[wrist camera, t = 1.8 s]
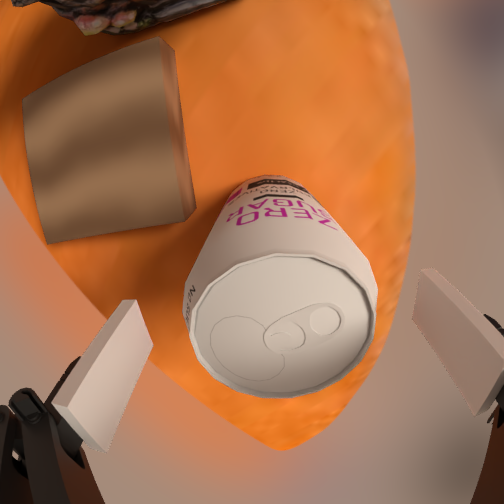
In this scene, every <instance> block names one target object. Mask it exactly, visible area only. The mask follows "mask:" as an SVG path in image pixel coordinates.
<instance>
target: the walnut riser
mask: <svg viewBox="0 0 504 504" xmlns="http://www.w3.org/2000/svg"><path fill="white" fill-rule="evenodd" d="M22 108H23V124H24V134H25V143H26V151H27V158H28V165H29V171H30V176H31V182H32V187H33V192H34V196H35V201H36V205H37V209H38V213H39V217H40V221H41V225H42V228H43V232H44V235H45V238H46V242H47V244H52V243H57V242H62V241H68V240H73V239H78V238H84V237H90V236H95V235H101V234H107V233H113V232H119V231H125V230H131V229H137V228H144V227H150V226H157V225H164V224H171V223H178V222H185V221H186V220H187V219H188V218H189V216H190V215H191V214H192V213H193V212H194V211H195V209H196V208H197V207H196V201H195V195H194V189H193V184H192V178H191V171H190V165H189V159H188V153H187V146H186V139H185V132H184V125H183V118H182V111H181V103H180V95H179V87H178V79H177V70H176V61H175V51H174V50H173V49H172V48H171V47H170V46H169V45H168V44H167V43H166V42H165V41H164V40H163V39H161V38H160V37H159V36H158V37H155V38H151V39H148V40H145V41H142V42H139V43H136V44H133V45H130V46H127V47H125V48H122V49H119V50H117V51H114V52H112V53H109V54H107V55H104V56H102V57H99V58H97V59H95V60H93V61H90V62H88V63H86V64H84V65H82V66H80V67H78V68H76V69H74V70H72V71H70V72H68V73H66V74H64V75H62V76H60V77H58V78H56V79H54V80H53V81H51V82H49V83H47V84H46V85H44V86H42V87H41V88H39V89H37V90H36V91H34V92H32V93H31V94H29V95H28V96H26V97H25V98H23V99H22Z"/></svg>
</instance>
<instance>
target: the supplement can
mask: <svg viewBox="0 0 504 504" xmlns="http://www.w3.org/2000/svg"><path fill="white" fill-rule="evenodd" d="M377 293H378V288H377V285H376V281H375V278H374V275H373V273H372V270H371V267H370V264H369V261H368V259H367V258H366V257H365V256H364V255H363V253H362V252H361V251H360V250H359V248H358V247H357V246H356V245H355V244H354V242H353V241H352V240H351V239H350V238H349V236H348V235H347V234H346V233H345V232H344V230H343V229H342V228H341V227H340V226H339V225H338V223H337V222H336V221H335V220H334V219H333V218H332V217H331V215H330V214H329V213H328V212H327V211H326V210H325V209H324V208H323V206H322V205H321V204H320V203H319V202H318V201H317V200H316V199H315V198H314V196H313V195H312V194H311V193H310V192H309V191H308V190H306V189H305V188H304V187H303V186H302V185H301V184H300V183H299V182H297V181H294V180H292V179H290V178H287V177H285V176H280V175H262V176H259V177H256V178H252V179H249V180H247V181H245V182H244V183H243V184H241V185H240V186H239V187H238V188H236V189H235V190H234V191H233V192H232V193H231V195H230V196H229V198H228V200H227V201H226V203H225V205H224V206H223V208H222V210H221V212H220V214H219V216H218V218H217V220H216V222H215V224H214V226H213V228H212V230H211V232H210V234H209V236H208V238H207V240H206V242H205V244H204V246H203V248H202V250H201V252H200V254H199V256H198V258H197V260H196V262H195V264H194V266H193V268H192V270H191V272H190V274H189V276H188V278H187V280H186V282H185V289H184V299H183V310H182V313H183V316H184V319H185V322H186V325H187V328H188V331H189V334H190V335H189V337H190V340H191V343H192V346H193V348H194V351H195V354H196V357H197V359H198V361H199V362H200V363H201V364H202V365H203V367H204V368H205V369H206V370H207V371H208V372H209V373H210V374H211V375H212V377H213V378H214V379H216V380H218V381H219V382H221V383H223V384H225V385H226V386H228V387H230V388H232V389H233V390H235V391H237V392H241V393H245V394H249V395H253V396H257V397H261V398H294V397H298V396H302V395H307V394H311V393H315V392H318V391H320V390H322V389H324V388H326V387H328V386H330V385H332V384H334V383H336V382H338V381H339V380H341V379H342V378H344V377H345V376H346V375H347V374H348V373H349V372H350V371H351V370H352V369H353V368H354V367H356V366H357V365H358V364H359V363H360V362H361V360H362V359H363V357H364V355H365V353H366V352H367V350H368V348H369V346H370V344H371V342H372V341H373V338H374V330H375V322H376V304H377Z"/></svg>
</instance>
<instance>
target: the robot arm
mask: <svg viewBox="0 0 504 504" xmlns="http://www.w3.org/2000/svg"><path fill="white" fill-rule="evenodd" d="M412 320H413V321H414V322H415V324H416V325H417V327H418V328H419V329H420V331H421V332H422V334H423V335H424V337H425V338H426V340H427V341H428V343H429V344H430V345H431V347H432V348H433V350H434V351H435V353H436V354H437V356H438V357H439V359H440V360H441V362H442V364H443V365H444V367H445V368H446V370H447V371H448V373H449V375H450V376H451V378H452V379H453V381H454V383H455V384H456V386H457V388H458V389H459V391H460V393H461V394H462V396H463V398H464V399H465V401H466V403H467V405H468V406H469V408H470V410H471V412H472V413H473V415H474V416H477V415H479V414H481V413H483V412H485V411H487V410H488V409H489V408H490V406H491V405H492V403H493V402H494V400H495V399H496V401H497V402H498V405H497V407H496V408H495V410H494V411H493V413H492V414H491V416H490V417H489V419H488V421H487V423H489V422H490V421H491V420H492V418H493V417H494V420H493V423H492V424H493V426H492V431H491V436H490V441H489V445H488V449H487V453H486V457H485V461H484V464H483V468H482V471H481V474H480V478H479V481H478V484H477V487H476V489H475V492H474V495H473V498H472V500H471V503H470V504H504V329H502V327H501V326H500V325H499V324H498V322H497V321H495V320H494V319H493V318H491V317H489V316H488V315H486V314H484V315H483V314H482V313H481V312H480V311H478V309H477V308H475V306H473V304H472V303H471V302H469V300H468V299H466V298H465V297H464V296H463V295H462V294H461V293H460V292H459V291H458V290H457V289H456V288H455V287H454V286H453V285H452V284H450V282H448V281H447V280H446V279H445V278H444V277H443V276H442V275H441V274H440V273H438V272H437V271H436V270H435V269H434V268H428V269H422V270H420V275H419V282H418V289H417V295H416V300H415V306H414V311H413V316H412ZM152 347H153V343H152V341H151V338H150V335H149V333H148V330H147V328H146V325H145V322H144V320H143V317H142V314H141V311H140V308H139V306H138V303H137V300H136V299H134V300H122V302H121V303H120V304H119V306H118V307H117V308H116V310H115V311H114V312H113V314H112V315H111V316H110V318H109V319H108V320H107V322H106V323H105V324H104V326H103V327H102V329H101V330H100V331H99V333H98V334H97V335H96V337H95V338H94V340H93V341H92V342H91V344H90V345H89V347H88V348H87V349H86V351H85V352H84V354H83V355H82V357H81V356H79V357H78V358H77V359H75V360H74V361H73V362H72V363H71V364H70V365H69V367H68V368H67V369H66V371H65V374H63V375H62V377H61V378H60V381H58V383H57V384H56V386H55V387H54V389H53V390H52V392H51V393H50V395H49V396H48V398H47V400H46V401H45V403H44V404H43V402H42V401H41V400H40V398H39V397H38V396H37V394H36V393H35V392H34V391H33V390H32V389H31V388H23V389H20V390H18V391H17V392H16V393H14V395H12V397H11V399H10V400H9V405H8V406H9V407H10V408H11V409H12V411H13V412H14V413H15V414H13V413H12V412H11V410H10V409H9V408H8V407H7V406H5V405H0V504H105V502H104V500H103V498H102V496H101V493H100V491H99V489H98V486H97V484H96V481H95V480H94V476H93V474H92V471H91V469H90V466H89V463H88V460H87V458H86V455H85V452H84V450H83V448H82V447H81V444H82V442H83V441H84V442H85V443H86V444H87V445H88V446H89V447H90V448H91V449H93V450H97V451H100V452H104V453H107V452H108V449H109V447H110V444H111V441H112V439H113V437H114V434H115V431H116V429H117V427H118V424H119V422H120V420H121V417H122V415H123V412H124V410H125V408H126V405H127V403H128V401H129V398H130V396H131V394H132V391H133V389H134V387H135V385H136V382H137V380H138V378H139V376H140V373H141V371H142V369H143V367H144V365H145V362H146V360H147V358H148V356H149V354H150V352H151V349H152ZM13 451H15V452H16V453H17V454H18V455H19V458H18V460H16V459H15V458H14V457H13V456H12V452H13Z"/></svg>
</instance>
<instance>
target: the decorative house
mask: <svg viewBox="0 0 504 504" xmlns="http://www.w3.org/2000/svg"><path fill="white" fill-rule="evenodd" d="M11 1H12V4H13V6H16V7H24V6H27V5H30V4H32V3H35V2H38V1H39V2H41V3H44V4H47V5H49V6H52V7H53V9H54V10H55V11H56V12H57V13H58V14H59V15H60V16H62V17H65V18H67V19H70V20H72V21H74V22H75V24H76V25H77V26H78V27H79V29H80V30H81V31H82V32H83V34H84V35H85V36H86V35H92V34H97V33H99V32H102V33H106V34H110V35H121V34H129V33H135V32H139V31H141V30H143V29H146V28H148V27H151V26H154V25H157V24H159V23H161V22H168V21H171V20H174V19H176V18H179V17H182V16H185V15H188V14H190V13H193V12H195V11H198V10H201V9H203V8H207V7H210V6H213V5H216V4H219V3H222V2H225V1H227V0H11Z"/></svg>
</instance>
